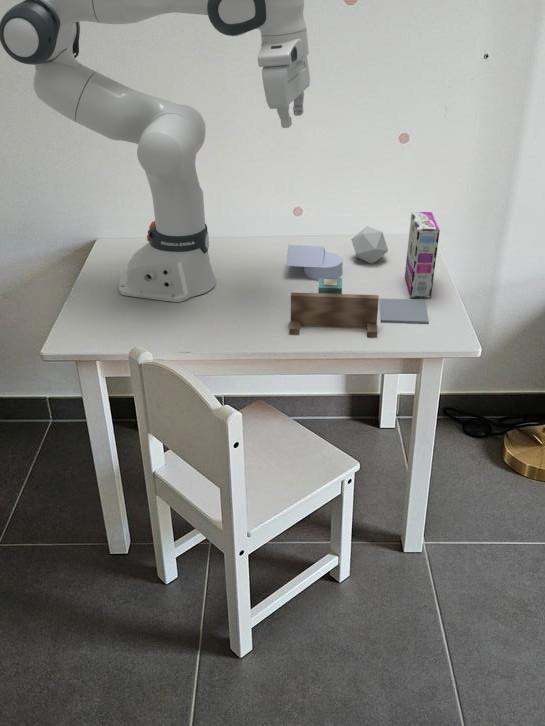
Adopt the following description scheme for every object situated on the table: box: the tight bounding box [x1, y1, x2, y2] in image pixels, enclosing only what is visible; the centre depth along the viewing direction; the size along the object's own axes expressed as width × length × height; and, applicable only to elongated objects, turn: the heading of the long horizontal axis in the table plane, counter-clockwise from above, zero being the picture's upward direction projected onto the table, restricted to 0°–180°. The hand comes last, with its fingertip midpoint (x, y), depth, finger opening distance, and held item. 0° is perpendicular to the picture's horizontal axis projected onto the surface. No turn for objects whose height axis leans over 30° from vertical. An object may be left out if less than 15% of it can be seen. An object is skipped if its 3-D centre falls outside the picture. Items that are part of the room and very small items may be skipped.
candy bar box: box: [404, 211, 441, 299], centre depth 164 cm, size 11×5×16 cm, turn 178°
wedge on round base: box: [285, 244, 344, 281], centre depth 175 cm, size 9×7×13 cm
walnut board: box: [288, 291, 380, 338], centre depth 151 cm, size 18×5×7 cm, turn 85°
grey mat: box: [379, 297, 430, 325], centre depth 159 cm, size 10×10×1 cm
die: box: [350, 226, 389, 265], centre depth 180 cm, size 8×9×10 cm
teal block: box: [317, 277, 343, 294], centre depth 160 cm, size 5×5×6 cm
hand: (292, 120), depth 149 cm, fingers open, 8 cm apart
